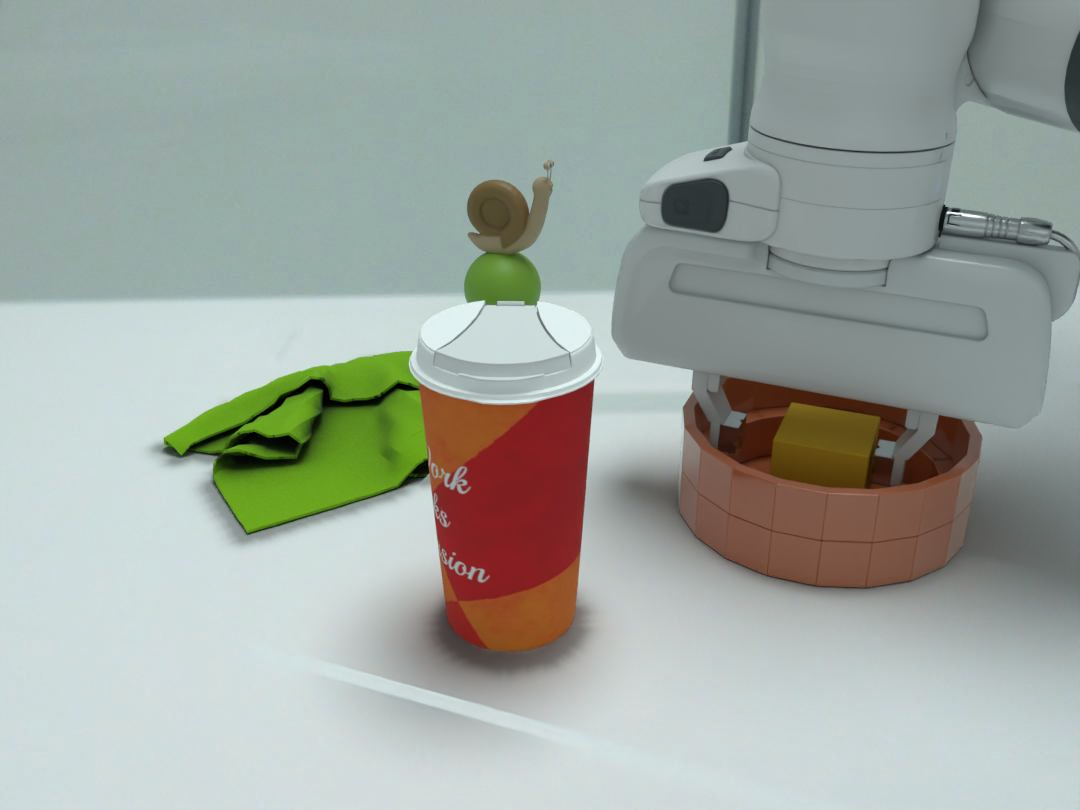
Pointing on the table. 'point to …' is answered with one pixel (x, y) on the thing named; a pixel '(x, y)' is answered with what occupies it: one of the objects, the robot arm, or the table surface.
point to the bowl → (825, 497)
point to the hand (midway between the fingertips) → (804, 464)
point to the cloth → (314, 439)
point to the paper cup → (508, 464)
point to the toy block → (825, 447)
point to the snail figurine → (505, 241)
